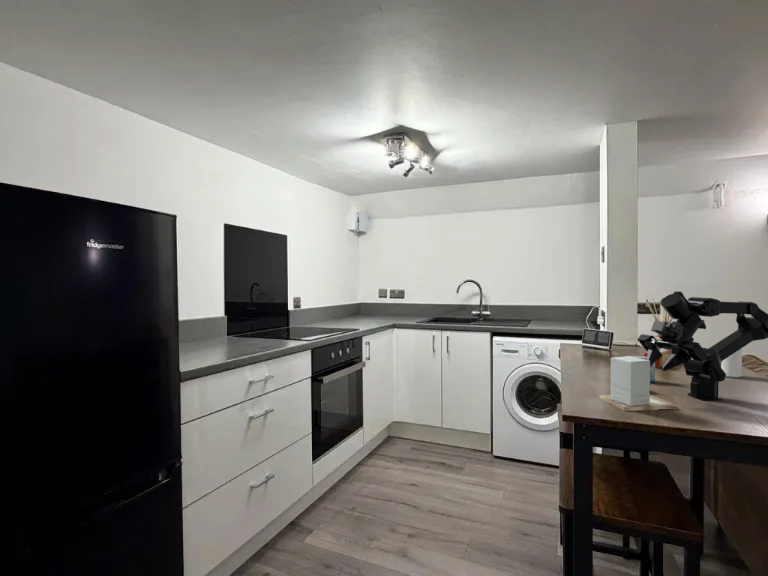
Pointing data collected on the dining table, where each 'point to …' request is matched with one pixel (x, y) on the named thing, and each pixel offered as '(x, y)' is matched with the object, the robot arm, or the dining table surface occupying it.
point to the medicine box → (652, 369)
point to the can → (733, 365)
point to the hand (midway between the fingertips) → (654, 368)
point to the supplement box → (630, 380)
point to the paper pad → (653, 405)
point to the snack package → (663, 359)
